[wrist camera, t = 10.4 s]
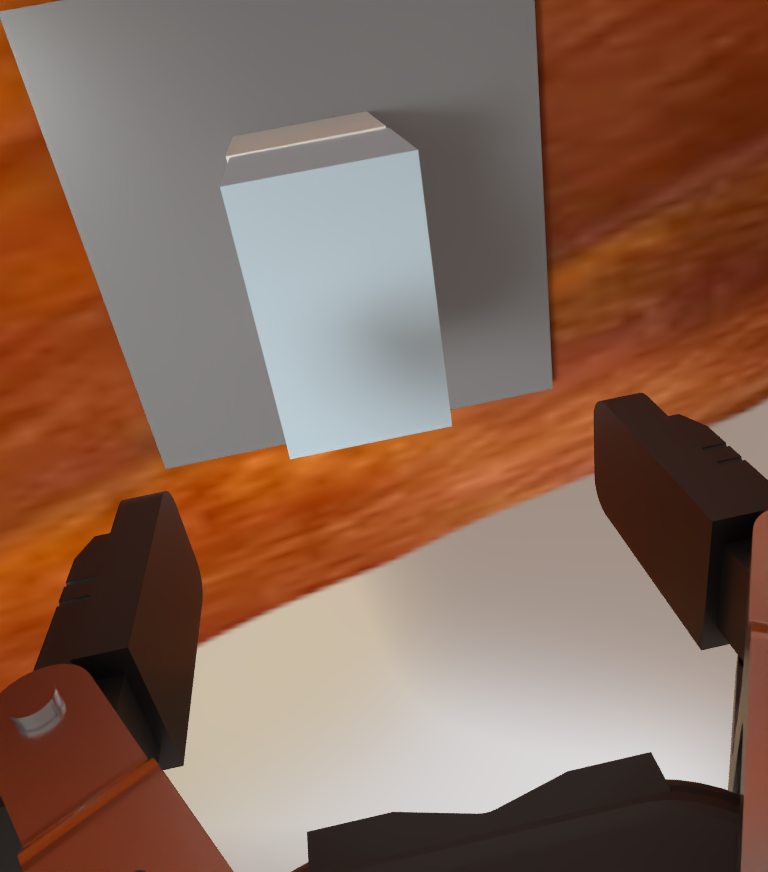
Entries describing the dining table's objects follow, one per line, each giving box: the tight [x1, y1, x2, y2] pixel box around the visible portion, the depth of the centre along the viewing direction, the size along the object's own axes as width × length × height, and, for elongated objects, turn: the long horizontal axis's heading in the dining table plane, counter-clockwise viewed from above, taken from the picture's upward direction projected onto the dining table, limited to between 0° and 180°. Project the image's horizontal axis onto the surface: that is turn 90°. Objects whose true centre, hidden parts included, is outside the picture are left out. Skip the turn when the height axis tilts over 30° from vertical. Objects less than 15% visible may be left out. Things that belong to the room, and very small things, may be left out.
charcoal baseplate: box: [0, 0, 553, 469], centre depth 29 cm, size 18×18×1 cm
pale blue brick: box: [220, 128, 452, 459], centre depth 22 cm, size 8×5×5 cm, turn 9°
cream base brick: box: [226, 111, 386, 164], centre depth 26 cm, size 8×5×5 cm, turn 9°
